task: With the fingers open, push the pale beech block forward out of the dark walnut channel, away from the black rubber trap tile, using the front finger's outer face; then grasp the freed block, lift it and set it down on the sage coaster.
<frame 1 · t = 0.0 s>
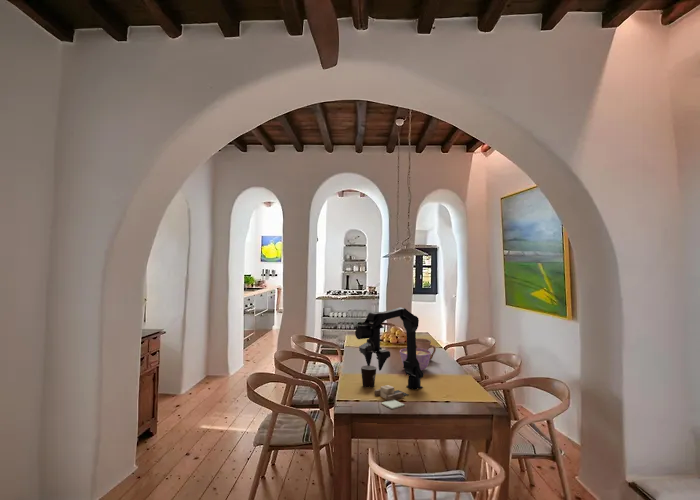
hand: (374, 368, 198), 15 cm above the table, fingers open, 9 cm apart
trap tile: (399, 393, 203), on the table
sage coaster: (392, 404, 187), on the table
beech block: (387, 396, 198), on the table
coffee mug: (370, 385, 216), on the table
bowl of food: (415, 370, 248), on the table
walnut channel: (388, 396, 199), on the table
ceramic jug: (422, 360, 271), on the table
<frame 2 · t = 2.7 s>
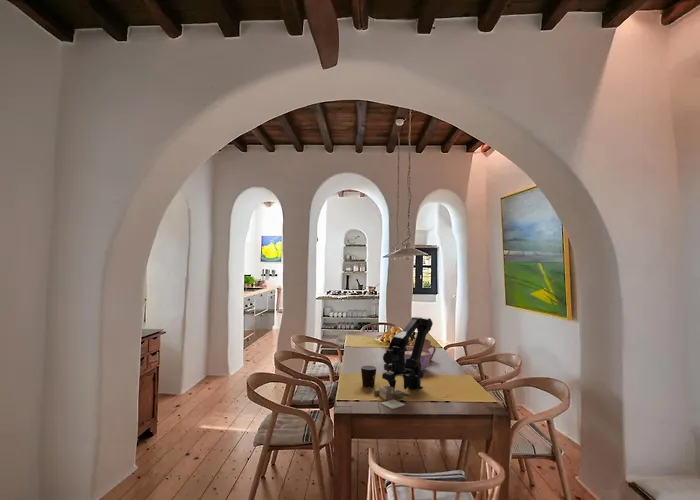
hand: (399, 390, 203), 2 cm above the table, fingers open, 8 cm apart
beech block: (386, 396, 198), on the table, touching gripper
everything else where it was.
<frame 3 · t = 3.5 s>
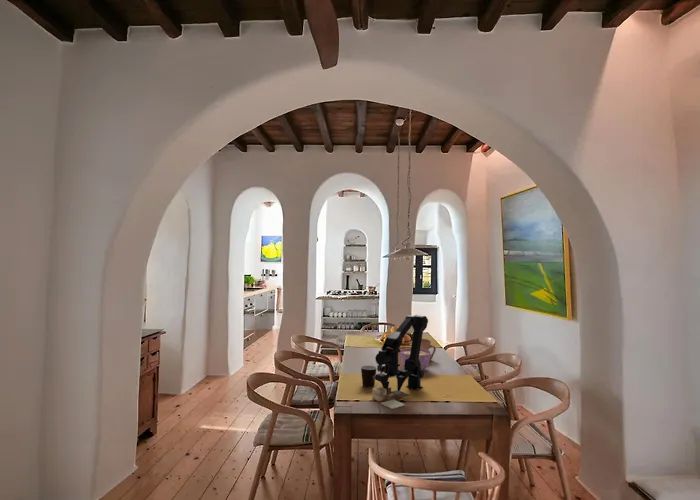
hand: (392, 392, 200), 2 cm above the table, fingers open, 8 cm apart
beech block: (379, 398, 195), on the table, touching gripper
everything else where it was.
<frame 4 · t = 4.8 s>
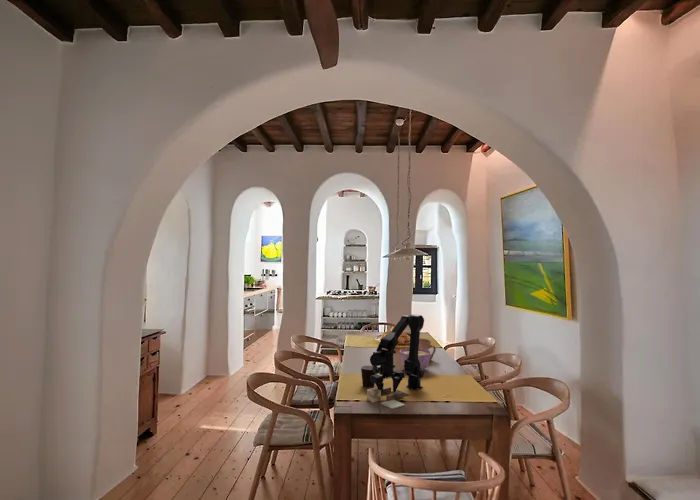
hand: (387, 393, 198), 2 cm above the table, fingers open, 9 cm apart
beech block: (373, 400, 193), on the table, touching gripper
everything else where it was.
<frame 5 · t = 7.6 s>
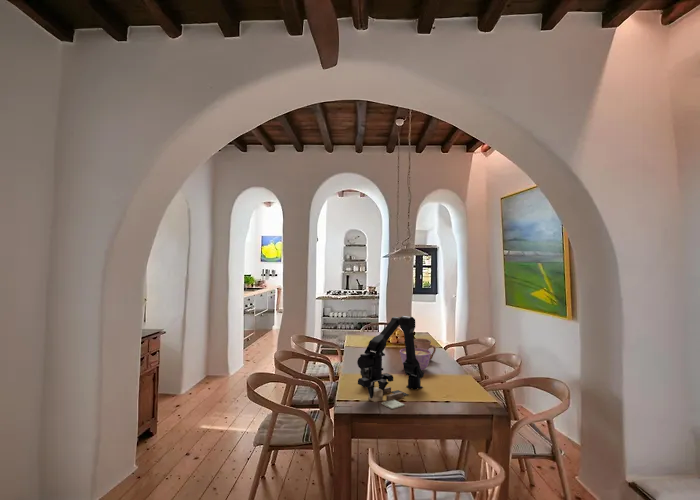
hand: (375, 397, 194), 1 cm above the table, fingers closed on beech block, 5 cm apart
beech block: (375, 399, 194), on the table, touching gripper
everything else where it was.
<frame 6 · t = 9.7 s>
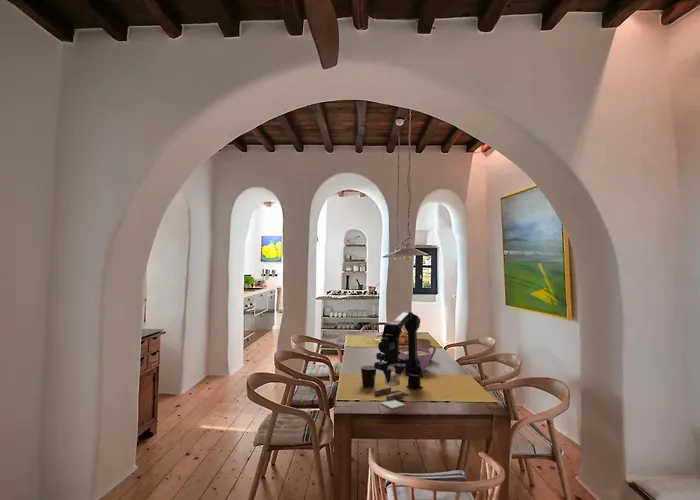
hand: (392, 381, 188), 11 cm above the table, fingers closed on beech block, 5 cm apart
beech block: (392, 384, 188), point 10 cm above the table, touching gripper
everything else where it was.
when the fingers open (3 cm above the table, at t = 11.5 s): beech block drops 1 cm, resting on sage coaster.
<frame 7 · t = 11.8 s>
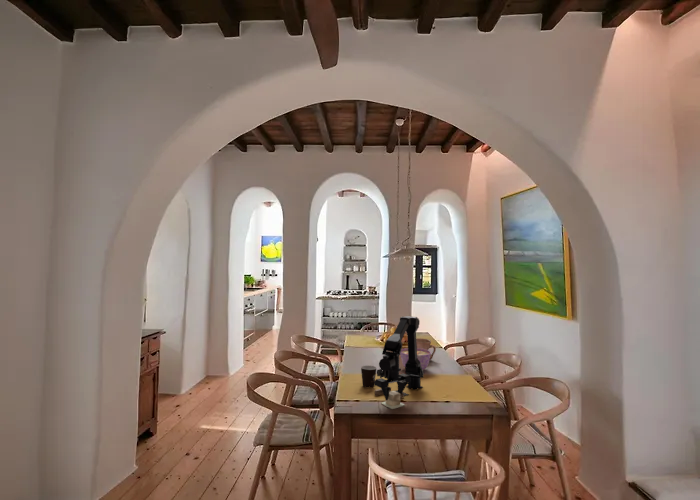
hand: (392, 398, 187), 3 cm above the table, fingers open, 8 cm apart
beech block: (392, 403, 187), point 1 cm above the table, touching sage coaster
everything else where it was.
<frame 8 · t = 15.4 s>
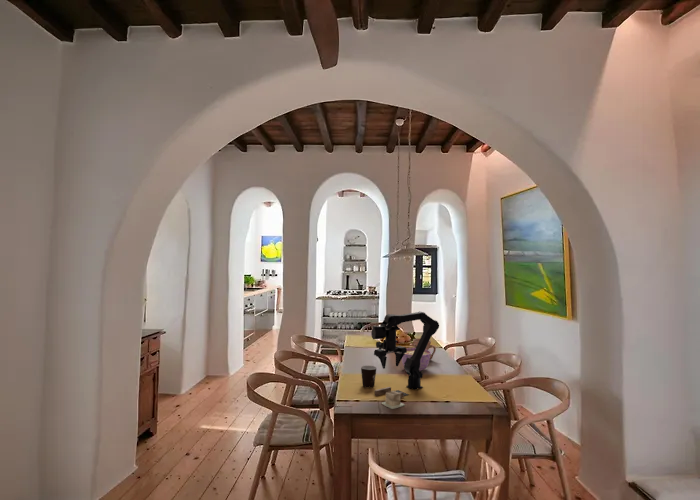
hand: (390, 367, 209), 12 cm above the table, fingers open, 9 cm apart
nothing on the table moved.
at the end: beech block inside the target area (0.1 cm from its centre), point 0.6 cm above the table; beech block moved 11.1 cm from its start; the gripper is holding nothing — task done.
